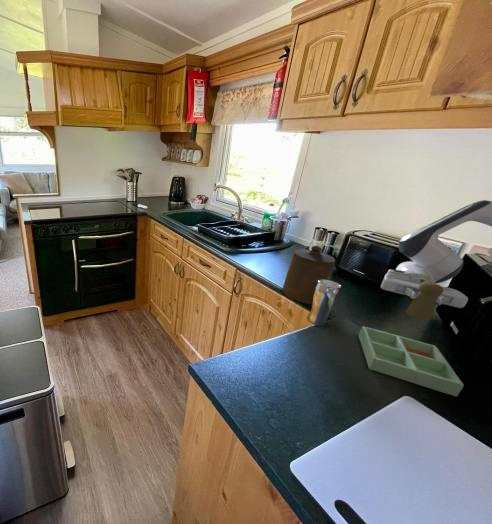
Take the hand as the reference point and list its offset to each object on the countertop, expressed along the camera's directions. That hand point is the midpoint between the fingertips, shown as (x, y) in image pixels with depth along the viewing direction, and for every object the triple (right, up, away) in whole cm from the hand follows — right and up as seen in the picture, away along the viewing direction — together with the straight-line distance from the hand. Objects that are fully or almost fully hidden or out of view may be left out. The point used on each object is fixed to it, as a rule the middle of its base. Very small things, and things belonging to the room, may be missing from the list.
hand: (426, 299), depth 87 cm
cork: (0, -6, +3) cm, 6 cm away
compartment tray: (-10, -18, -3) cm, 21 cm away
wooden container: (-19, -3, +34) cm, 39 cm away
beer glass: (-24, -10, +16) cm, 30 cm away
